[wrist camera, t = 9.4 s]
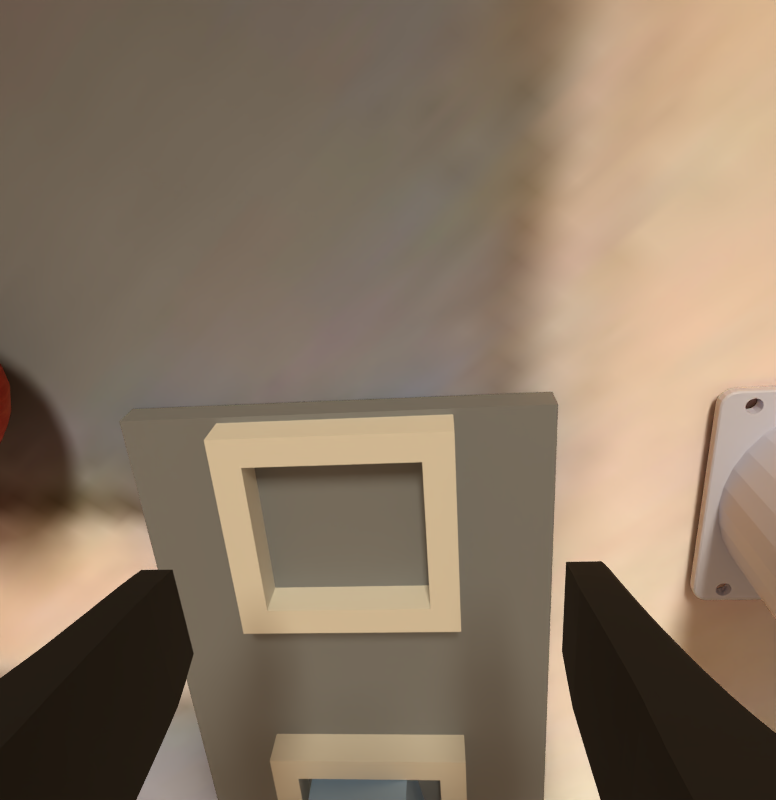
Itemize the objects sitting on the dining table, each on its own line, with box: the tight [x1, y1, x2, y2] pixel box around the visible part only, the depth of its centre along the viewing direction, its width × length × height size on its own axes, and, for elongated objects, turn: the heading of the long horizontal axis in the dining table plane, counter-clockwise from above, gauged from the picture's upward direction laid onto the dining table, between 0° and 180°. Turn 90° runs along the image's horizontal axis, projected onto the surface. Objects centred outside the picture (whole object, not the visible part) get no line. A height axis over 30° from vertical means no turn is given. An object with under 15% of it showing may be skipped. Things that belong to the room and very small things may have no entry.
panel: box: [119, 392, 558, 800], centre depth 24 cm, size 14×22×2 cm, turn 4°
